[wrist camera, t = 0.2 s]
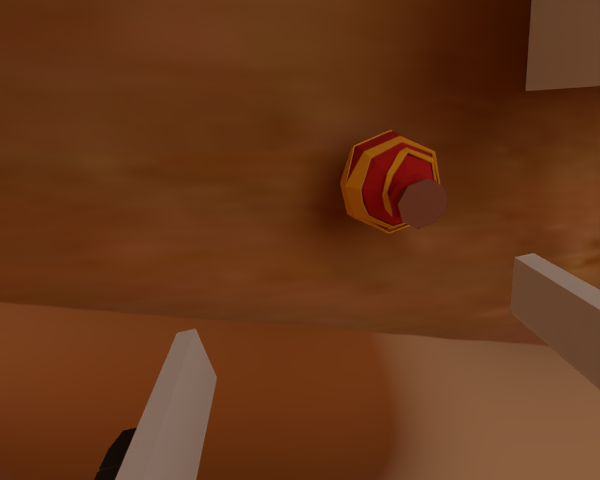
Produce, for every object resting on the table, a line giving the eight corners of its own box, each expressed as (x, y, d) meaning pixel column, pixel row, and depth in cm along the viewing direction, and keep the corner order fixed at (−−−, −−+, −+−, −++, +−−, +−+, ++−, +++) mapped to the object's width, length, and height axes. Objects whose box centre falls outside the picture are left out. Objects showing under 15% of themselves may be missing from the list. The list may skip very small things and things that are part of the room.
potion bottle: (330, 125, 36) (366, 136, 22) (416, 127, 37) (500, 138, 23) (325, 211, 40) (353, 265, 27) (402, 211, 41) (468, 263, 27)
